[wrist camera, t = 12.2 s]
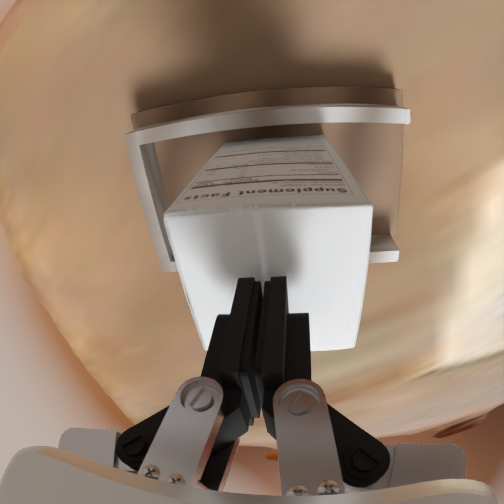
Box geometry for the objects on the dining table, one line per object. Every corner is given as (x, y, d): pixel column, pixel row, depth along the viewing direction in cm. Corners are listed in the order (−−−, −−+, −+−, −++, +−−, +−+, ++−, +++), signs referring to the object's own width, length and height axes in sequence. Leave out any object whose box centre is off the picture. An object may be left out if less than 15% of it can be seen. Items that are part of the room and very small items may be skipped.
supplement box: (328, 224, 23) (356, 353, 13) (235, 228, 24) (199, 355, 14) (327, 132, 19) (380, 204, 9) (222, 138, 20) (154, 215, 10)
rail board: (395, 88, 18) (416, 92, 15) (388, 246, 25) (400, 273, 22) (138, 112, 21) (114, 120, 18) (175, 257, 28) (161, 283, 25)
